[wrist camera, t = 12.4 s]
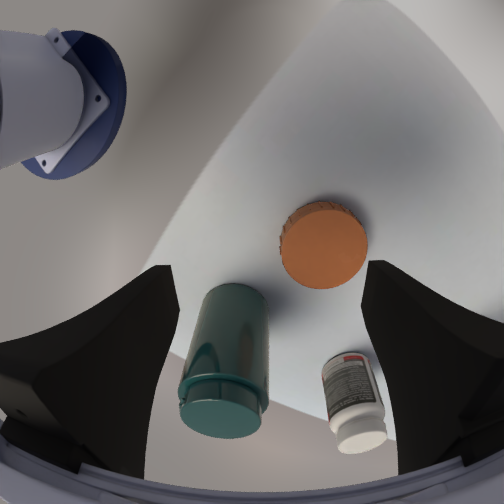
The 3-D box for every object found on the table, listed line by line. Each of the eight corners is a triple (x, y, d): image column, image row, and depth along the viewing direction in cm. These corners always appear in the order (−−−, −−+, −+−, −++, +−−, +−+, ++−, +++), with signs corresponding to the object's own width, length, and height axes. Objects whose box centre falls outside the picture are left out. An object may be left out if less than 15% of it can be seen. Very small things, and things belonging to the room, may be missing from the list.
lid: (330, 289, 22) (334, 302, 20) (263, 254, 21) (263, 266, 19) (376, 227, 19) (385, 237, 18) (308, 184, 18) (312, 191, 17)
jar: (188, 304, 23) (153, 409, 14) (240, 271, 21) (224, 382, 12) (230, 344, 25) (217, 447, 16) (282, 317, 23) (287, 427, 14)
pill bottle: (310, 374, 26) (319, 451, 19) (346, 344, 24) (366, 424, 17) (345, 388, 27) (358, 458, 20) (379, 361, 25) (402, 433, 18)
